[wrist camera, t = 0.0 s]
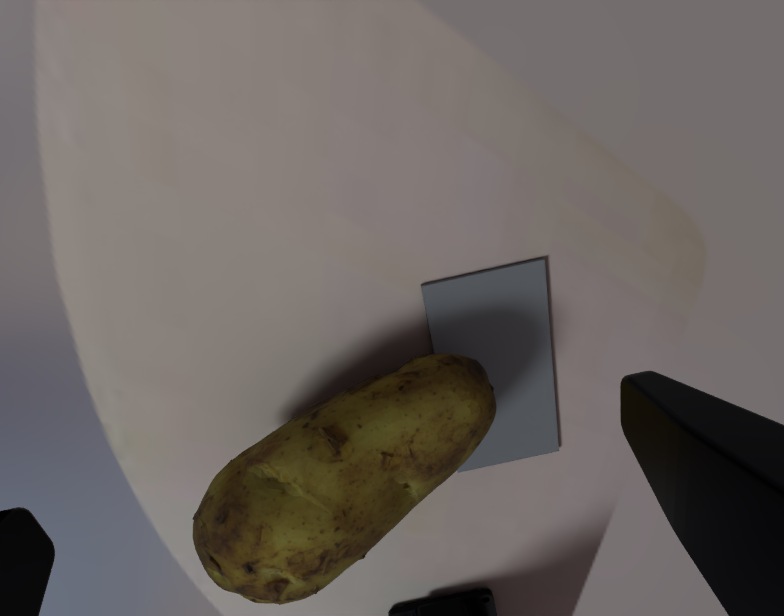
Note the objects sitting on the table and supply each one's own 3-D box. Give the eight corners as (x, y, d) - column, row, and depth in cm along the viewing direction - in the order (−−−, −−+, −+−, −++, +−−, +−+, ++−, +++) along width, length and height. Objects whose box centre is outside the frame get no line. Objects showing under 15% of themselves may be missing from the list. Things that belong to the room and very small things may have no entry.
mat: (557, 448, 28) (558, 451, 28) (457, 469, 28) (457, 472, 28) (542, 257, 23) (544, 259, 23) (420, 284, 23) (421, 286, 23)
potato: (490, 458, 27) (536, 606, 20) (247, 495, 28) (207, 654, 20) (479, 319, 24) (530, 440, 16) (196, 364, 24) (127, 501, 17)
